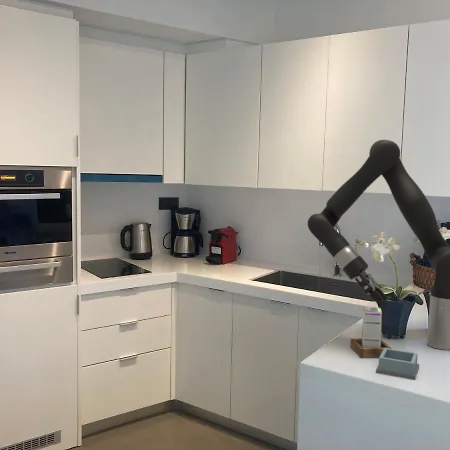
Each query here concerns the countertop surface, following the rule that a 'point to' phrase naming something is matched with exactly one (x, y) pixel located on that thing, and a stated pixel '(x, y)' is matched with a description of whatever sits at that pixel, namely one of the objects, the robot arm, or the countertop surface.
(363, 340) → the syrup box
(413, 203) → the robot arm
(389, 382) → the countertop surface
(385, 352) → the socket
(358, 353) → the shallow wooden tray
